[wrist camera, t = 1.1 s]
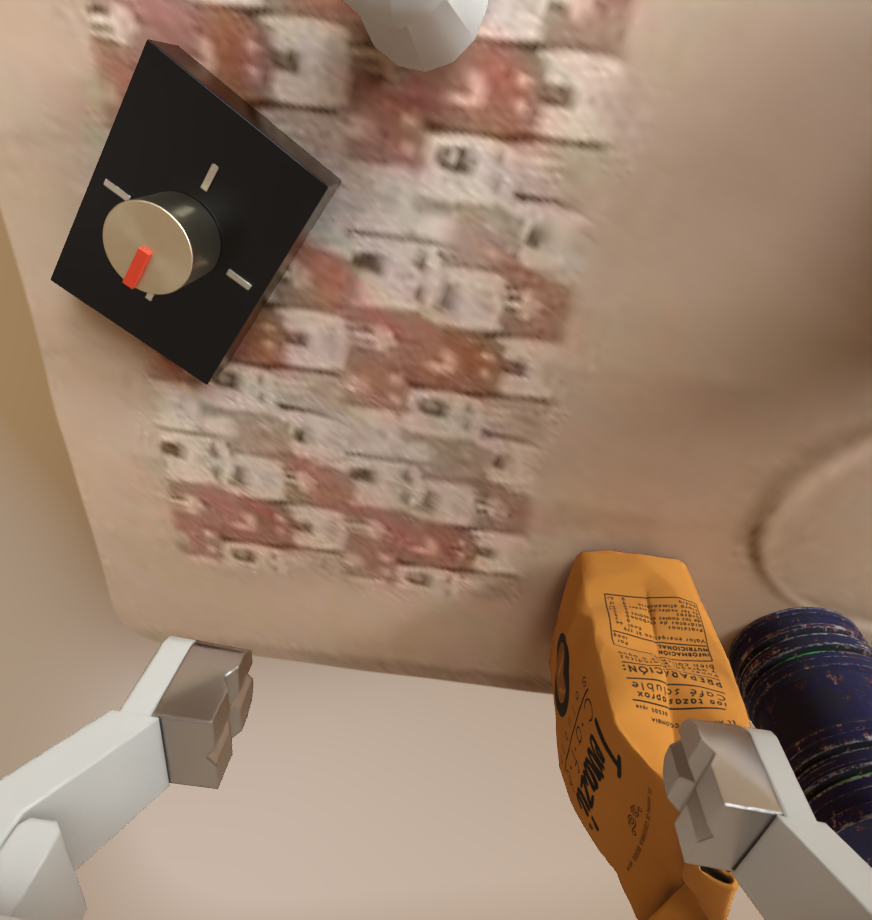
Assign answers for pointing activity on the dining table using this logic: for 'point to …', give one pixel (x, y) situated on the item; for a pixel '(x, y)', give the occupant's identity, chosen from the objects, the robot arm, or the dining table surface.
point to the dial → (161, 241)
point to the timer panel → (215, 187)
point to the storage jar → (815, 710)
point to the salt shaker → (421, 29)
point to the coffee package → (638, 719)
